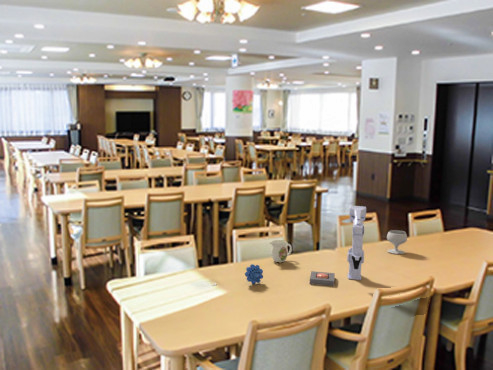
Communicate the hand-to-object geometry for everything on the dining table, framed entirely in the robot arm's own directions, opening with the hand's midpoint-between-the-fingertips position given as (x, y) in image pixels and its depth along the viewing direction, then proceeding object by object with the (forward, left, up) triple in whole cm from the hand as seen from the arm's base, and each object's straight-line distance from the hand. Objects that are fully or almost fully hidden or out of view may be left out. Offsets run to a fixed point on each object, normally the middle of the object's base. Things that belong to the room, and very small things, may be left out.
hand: (355, 268), depth 273 cm
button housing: (-4, -19, -10) cm, 22 cm away
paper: (+23, -80, -11) cm, 84 cm away
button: (-4, -19, -9) cm, 21 cm away
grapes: (+12, -57, -11) cm, 59 cm away
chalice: (-78, +31, -11) cm, 85 cm away
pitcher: (-35, -48, -11) cm, 60 cm away
